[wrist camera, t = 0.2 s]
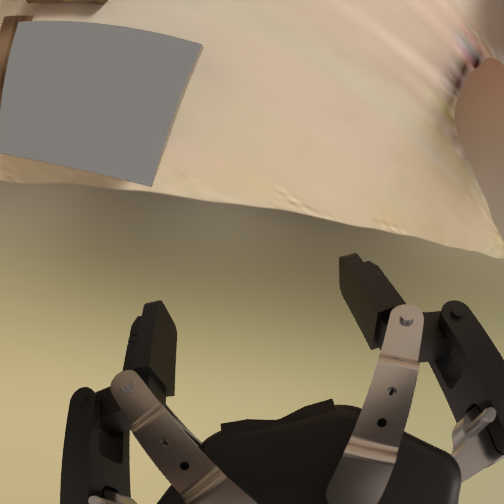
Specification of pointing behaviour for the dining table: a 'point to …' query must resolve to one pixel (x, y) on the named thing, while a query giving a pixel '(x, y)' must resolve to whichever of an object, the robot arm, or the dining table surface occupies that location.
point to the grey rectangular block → (94, 96)
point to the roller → (90, 0)
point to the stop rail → (8, 43)
